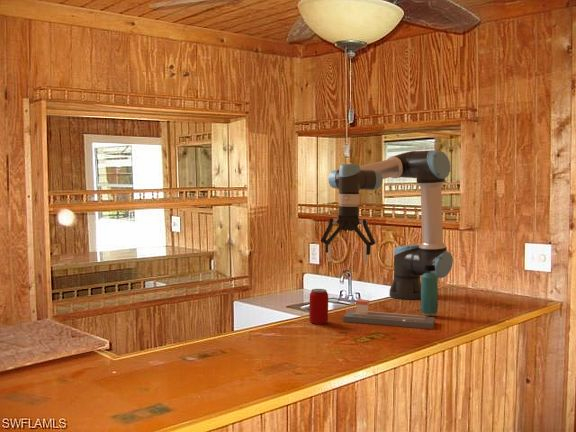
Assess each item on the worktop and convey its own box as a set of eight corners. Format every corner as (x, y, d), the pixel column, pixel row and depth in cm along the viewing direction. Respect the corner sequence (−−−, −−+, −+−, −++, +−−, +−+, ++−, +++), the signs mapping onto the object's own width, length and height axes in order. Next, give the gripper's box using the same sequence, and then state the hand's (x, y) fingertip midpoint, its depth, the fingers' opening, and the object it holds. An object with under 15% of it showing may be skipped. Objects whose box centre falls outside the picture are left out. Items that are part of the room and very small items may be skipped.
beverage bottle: (439, 318, 231) (440, 266, 230) (421, 318, 231) (423, 265, 230) (435, 314, 238) (436, 263, 237) (418, 314, 238) (419, 263, 237)
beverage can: (328, 320, 225) (328, 288, 225) (327, 325, 219) (328, 292, 218) (309, 320, 226) (310, 288, 225) (308, 324, 219) (309, 291, 219)
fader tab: (357, 312, 230) (357, 299, 229) (368, 313, 228) (369, 300, 228) (355, 314, 226) (355, 300, 226) (367, 315, 225) (367, 301, 225)
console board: (348, 315, 234) (349, 308, 234) (434, 322, 224) (434, 315, 224) (343, 321, 225) (343, 314, 224) (432, 329, 215) (432, 321, 215)
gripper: (313, 205, 227) (312, 261, 228) (380, 207, 219) (379, 265, 221) (318, 204, 234) (317, 259, 235) (383, 206, 227) (382, 263, 228)
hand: (347, 262), depth 228 cm, fingers open, 13 cm apart
